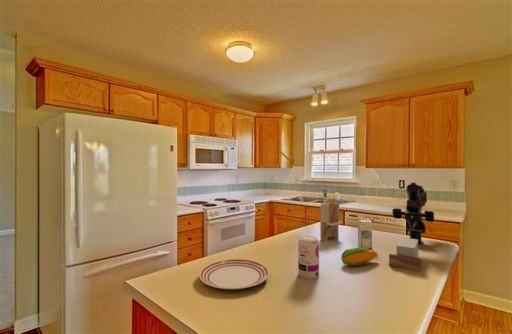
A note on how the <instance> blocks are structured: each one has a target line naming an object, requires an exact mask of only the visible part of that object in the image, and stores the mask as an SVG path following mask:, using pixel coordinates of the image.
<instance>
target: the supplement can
mask: <svg viewBox="0 0 512 334" xmlns="http://www.w3.org/2000/svg"><path fill="white" fill-rule="evenodd" d="M297 249H298V250H297V254H298V255H297V258H298V259H297V267H298V268H297V269H298V270H297V273H298V276H300V277H301V278H303V279H306V280H307V279H308V280H312V279H313V280H314V279H317V278H318V277H319V275H320V251H319V250H320V242H319V240H318V238H317V237H315V236H309V235H306V236H305V235H303V236H300V237H299V239H298V242H297Z"/></svg>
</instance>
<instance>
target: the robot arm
mask: <svg viewBox="0 0 512 334" xmlns="http://www.w3.org/2000/svg"><path fill="white" fill-rule="evenodd" d="M405 191H406V193H407V198H408V199H407V200H406V207H405V208H406V210H405V211H402V209H401V208H398V207H397V208H396V207H394V208H393V209H392V217H393V218H394V219H402V217H404V220H405V221H406V223H405V224H406V225H405V226H406V232H409V238H410V239H418V245H422V244H423V243H424V241H422V234H426V231H427V230H426V224H425V223H424V222H425V221H426V222H427V223H428V222H430V223H434V222H435V212H434V210H433V211H431V210H424V212H422V211H423V207H425V206H426V203H427V202H428V195H427V192H426V191H425V189H424V187H423V186H422V185H419V184H417V183H416V182H411V183H410V184H408V185H407V186H406V188H405ZM424 219H425V220H424ZM423 220H424V221H423Z"/></svg>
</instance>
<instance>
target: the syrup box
mask: <svg viewBox="0 0 512 334" xmlns="http://www.w3.org/2000/svg"><path fill="white" fill-rule="evenodd" d="M357 223H358V225H357V244H358V247H359V248H360V247H364V248H369V249H372V248H373V247H372V246H373V245H372V244H373V221H372V220H370V219H358V220H357Z"/></svg>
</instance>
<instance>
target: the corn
mask: <svg viewBox="0 0 512 334" xmlns="http://www.w3.org/2000/svg"><path fill="white" fill-rule="evenodd" d="M377 257H378V252H376V251H375V250H372V249H370V248H364V247H360V246H359V247H356V248H355V247H354V248H348V249H345V250H344V251H343V252H342V254H341V257H340V258H341V261H342V263H343V264H344V265H346V266H349V267H359V266H362V265H367V264H369V263H371V261H372V260H374V259H375V258H377Z"/></svg>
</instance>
